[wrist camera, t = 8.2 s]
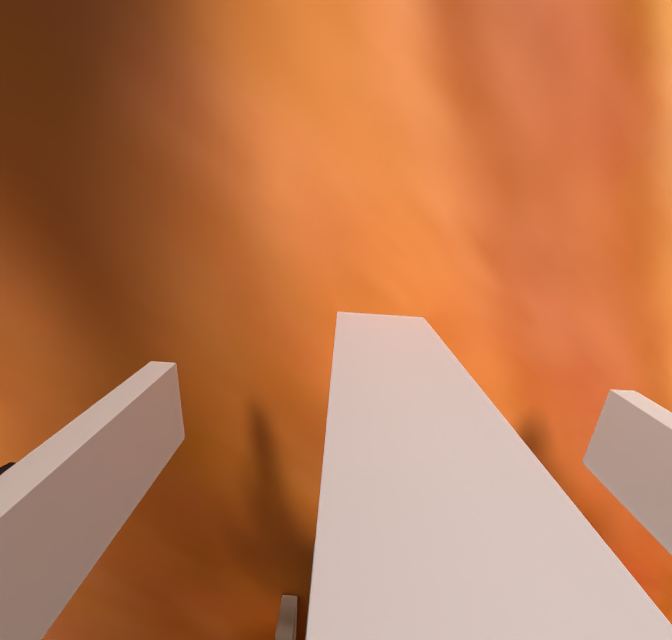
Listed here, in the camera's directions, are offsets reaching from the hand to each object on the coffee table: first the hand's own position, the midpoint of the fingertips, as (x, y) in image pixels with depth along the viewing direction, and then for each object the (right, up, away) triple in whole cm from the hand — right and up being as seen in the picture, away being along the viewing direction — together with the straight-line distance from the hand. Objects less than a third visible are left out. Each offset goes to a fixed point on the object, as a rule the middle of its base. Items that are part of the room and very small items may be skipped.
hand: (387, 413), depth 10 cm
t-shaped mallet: (0, -6, +8) cm, 10 cm away
